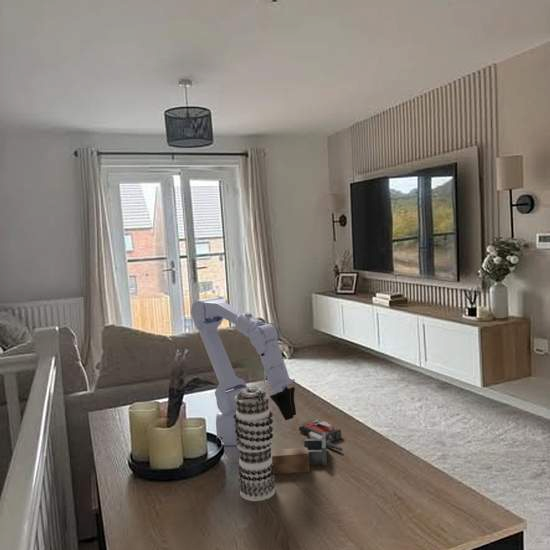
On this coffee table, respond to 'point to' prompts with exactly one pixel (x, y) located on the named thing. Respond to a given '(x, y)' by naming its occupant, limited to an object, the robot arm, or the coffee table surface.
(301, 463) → the brown long rectangular block
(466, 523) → the coffee table surface
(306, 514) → the coffee table surface
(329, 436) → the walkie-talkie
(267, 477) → the decorative candle
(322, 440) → the bracket
